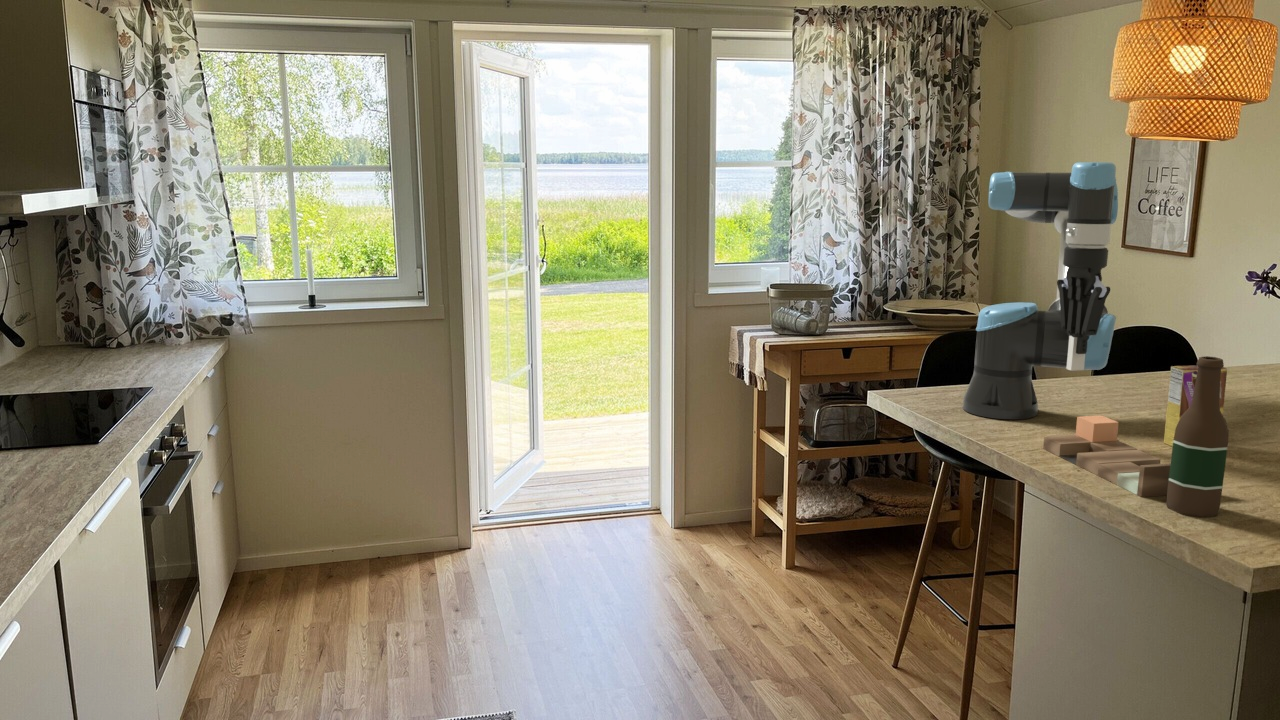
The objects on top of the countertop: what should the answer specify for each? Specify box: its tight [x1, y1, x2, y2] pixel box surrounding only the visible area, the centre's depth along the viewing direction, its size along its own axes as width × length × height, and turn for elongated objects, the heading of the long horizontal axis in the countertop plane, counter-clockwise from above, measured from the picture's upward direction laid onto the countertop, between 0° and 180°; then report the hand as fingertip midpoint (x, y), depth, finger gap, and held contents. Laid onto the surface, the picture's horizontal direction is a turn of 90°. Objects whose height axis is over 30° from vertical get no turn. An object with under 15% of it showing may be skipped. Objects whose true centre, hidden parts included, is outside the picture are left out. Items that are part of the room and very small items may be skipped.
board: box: [1043, 434, 1171, 498], centre depth 170 cm, size 27×12×5 cm, turn 11°
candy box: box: [1163, 364, 1228, 448], centre depth 184 cm, size 9×4×15 cm, turn 96°
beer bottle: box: [1166, 356, 1230, 518], centre depth 149 cm, size 8×8×24 cm
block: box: [1075, 415, 1119, 442], centre depth 181 cm, size 5×5×4 cm
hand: (1075, 369), depth 187 cm, fingers closed
